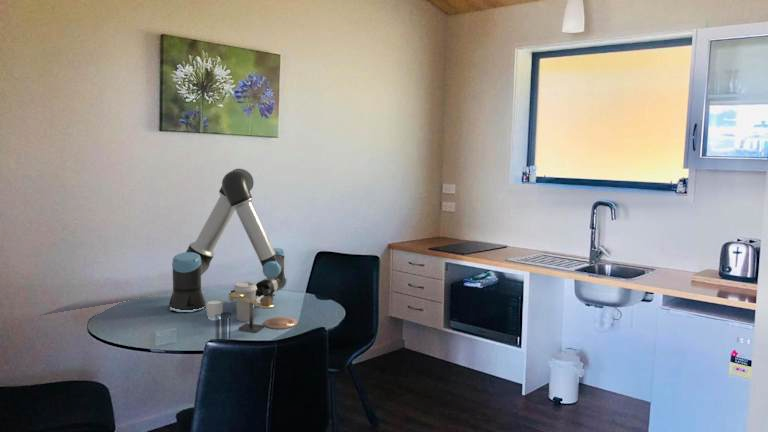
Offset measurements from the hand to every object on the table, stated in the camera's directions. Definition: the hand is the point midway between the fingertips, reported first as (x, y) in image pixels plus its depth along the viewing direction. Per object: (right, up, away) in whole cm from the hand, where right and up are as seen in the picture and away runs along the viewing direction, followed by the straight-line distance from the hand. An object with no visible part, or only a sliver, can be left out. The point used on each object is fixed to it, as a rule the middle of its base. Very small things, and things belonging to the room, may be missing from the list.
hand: (242, 301), depth 253 cm
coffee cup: (0, -8, +4) cm, 9 cm away
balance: (+5, -10, -8) cm, 14 cm away
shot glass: (-12, -8, +3) cm, 15 cm away
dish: (+16, -9, 0) cm, 18 cm away
